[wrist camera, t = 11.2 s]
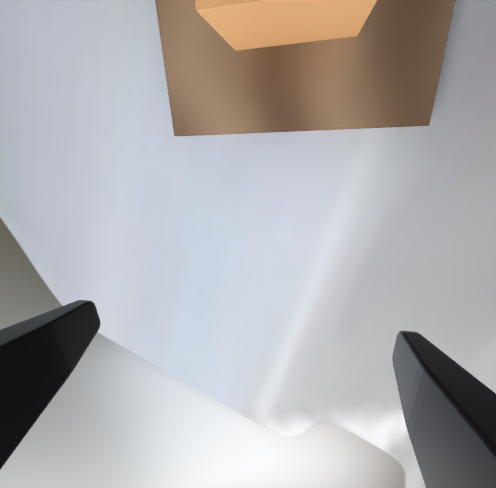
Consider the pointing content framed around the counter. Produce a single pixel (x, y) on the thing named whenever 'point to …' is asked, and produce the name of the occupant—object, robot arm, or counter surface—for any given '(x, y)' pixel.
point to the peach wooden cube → (283, 20)
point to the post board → (305, 73)
